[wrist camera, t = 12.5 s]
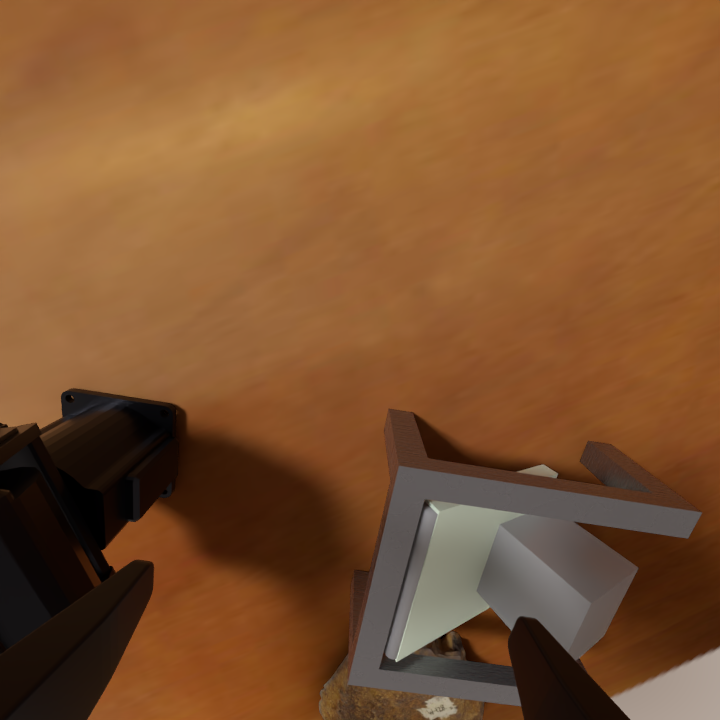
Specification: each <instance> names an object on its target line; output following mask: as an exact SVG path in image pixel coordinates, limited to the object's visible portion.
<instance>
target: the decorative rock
mask: <svg viewBox="0 0 720 720" xmlns="http://www.w3.org/2000/svg"><path fill="white" fill-rule="evenodd" d="M411 654H418V655H425V656H433V657H441V658H448V659H456V660H464V661H467V659H466V658H465V655H466V653H465V650H464V648H463V645H462V642H461V637H460V636H459V634H458V633H456V632H454V631H452V632H449V633H448V634H447V635H446V636H445V637H444V638H442V639H439V638H437V639H435V640H434V641H432V642H430V643H428V644H427V645H425V646H423V647H422V648H420V649H418V650H416V651H415V652H413V653H411ZM347 683H348V654H347V656H346V657H345V659H344V660H343V662H342V663H341V664H340V666H339V667H338V669H337V670H336V672H335V673H334V674H333V676H332V677H331V678H330V680H329V681H328V682H327V683H326V684H325V685H324V688H323V689H322V690H321V691H320V696H321V700H320V702H319V712H320V713H321V715H322V717H323V719H324V720H482V718H483V712H484V702H483V701H475V700H467V699H459V698H451V697H443V696H435V695H427V694H419V693H411V692H403V691H395V690H387V689H379V688H371V687H362V686H354V685H347Z"/></svg>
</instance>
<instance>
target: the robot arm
mask: <svg viewBox="0 0 720 720" xmlns="http://www.w3.org/2000/svg"><path fill="white" fill-rule="evenodd" d="M71 396H73V397H74V399H72V397H71ZM61 403H62V415H63V417H62V418H61V419H59V420H57V421H55V422H53V423H51V424H49V425H47V426H46V427H44V428H42V429H39V427H38V425H37V423H31V424H26V425H21V426H17V427H8V426H7V424H2V423H0V720H87V719H88V717H89V716H90V714H91V712H92V711H93V709H94V707H95V705H96V704H97V702H98V700H99V699H100V697H101V695H102V694H103V692H104V690H105V688H106V687H107V685H108V683H109V681H110V679H111V678H112V676H113V674H114V672H115V670H116V668H117V666H118V664H119V662H120V660H121V657H122V655H123V653H124V651H125V649H126V647H127V645H128V643H129V641H130V639H131V637H132V635H133V633H134V631H135V629H136V627H137V624H138V622H139V620H140V618H141V616H142V614H143V612H144V610H145V608H146V606H147V604H148V602H149V600H150V597H151V595H152V591H153V578H154V564H153V563H152V562H150V561H144V560H134V561H132V562H131V563H129V564H128V565H126V566H125V567H123V568H122V569H121V570H119V571H118V572H115V570H114V568H113V567H112V566H109V565H108V563H107V561H106V559H105V557H104V555H103V553H102V551H101V550H103V549H105V548H106V547H107V546H108V544H109V543H110V542H111V541H112V540H113V539H114V538H115V537H116V535H117V534H118V533H119V532H120V531H121V530H122V529H123V528H124V526H125V525H126V524H127V523H128V522H129V521H131V522H136V521H138V520H139V519H140V518H141V517H142V516H143V515H144V514H145V513H146V512H147V510H148V509H149V508H150V507H151V506H152V505H153V503H154V502H155V501H156V500H157V499H158V497H162V498H167V497H169V496H170V495H171V494H172V493H173V491H174V489H175V477H176V476H177V475H178V448H179V442H178V440H177V438H176V409H175V407H174V406H173V405H172V404H169V403H163V402H157V401H151V400H144V399H138V398H132V397H125V396H119V395H113V394H106V393H100V392H94V391H87V390H81V389H69V390H67V391H65V392H63V393H62V395H61ZM164 410H167V411H168V413H169V415H168V414H166V413H165V412H164ZM165 489H167V490H165ZM508 649H509V654H510V659H511V663H512V667H513V672H514V676H515V681H516V685H517V689H518V694H519V698H520V703H521V707H522V711H523V716H524V720H630V719H629V718H628V717H627V716H626V715H625V714H624V712H623V711H622V710H621V709H620V708H619V707H618V706H617V705H616V704H615V703H614V702H613V700H612V699H611V698H610V697H609V696H608V695H607V694H606V693H605V692H604V691H603V690H602V689H601V687H600V686H599V685H598V684H597V683H596V682H595V681H594V680H593V679H592V678H591V677H590V676H589V675H588V673H587V672H586V671H585V670H584V669H583V668H582V667H581V666H580V665H579V664H578V663H577V662H576V661H575V659H574V658H573V657H572V656H571V655H570V654H569V653H568V652H567V651H566V650H565V649H564V648H563V646H562V645H561V644H560V643H559V642H558V641H557V640H556V639H555V638H554V637H553V636H552V635H551V634H550V632H549V631H548V630H547V629H546V628H545V627H544V626H543V625H542V624H541V623H540V622H539V621H538V620H537V619H535V618H533V617H526V616H519V617H518V618H517V620H516V622H515V624H514V627H513V629H512V631H511V634H510V636H509V639H508Z"/></svg>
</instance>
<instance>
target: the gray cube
mask: <svg viewBox="0 0 720 720" xmlns="http://www.w3.org/2000/svg"><path fill="white" fill-rule="evenodd" d="M637 570H638V567H637V566H635V565H634V564H633V563H631V562H630V561H628V560H627V559H626V558H624V557H623V556H621V555H620V554H618V553H617V552H616V551H614V550H613V549H611V548H610V547H609V546H607V545H606V544H604V543H603V542H602V541H600V540H599V539H597V538H596V537H595V536H593V535H592V534H590V533H589V532H587V531H586V530H585V529H583V528H582V527H580V526H579V525H578V524H576V523H575V522H573V521H567V520H561V519H554V518H547V517H541V516H534V515H527V514H524V515H522V516H519V517H517V518H514V519H512V520H509V521H507V522H504V523H502V524H500V525H499V528H498V530H497V533H496V536H495V539H494V542H493V545H492V548H491V550H490V553H489V556H488V559H487V562H486V565H485V568H484V570H483V573H482V576H481V579H480V582H479V585H478V588H477V592H478V593H479V595H480V596H481V597H482V598H483V599H484V600H485V601H486V602H487V604H488V605H489V606H490V607H491V608H492V609H493V610H494V612H495V613H496V614H497V615H498V616H499V617H500V618H501V619H502V621H503V622H504V623H505V624H506V625H507V626H508V627H509V628H510V630H511V631H512V629H513V627H514V624H515V622H516V620H517V618H518V617H519V616H526V617H533V618H535V619H537V620H538V621H539V622H540V623H541V624H542V625H543V626H544V627H545V628H546V629H547V630H548V631H549V632H550V634H551V635H552V636H553V637H554V638H555V639H556V640H557V641H558V642H559V643H560V644H561V645H562V646H563V648H564V649H565V650H566V651H567V652H568V653H569V654H570V655H571V656H572V657H573V658H574V659H575V661H576V660H577V659H579V658H580V657H581V656H582V655H583V654H584V653H585V652H586V651H588V650H589V649H590V648H591V647H592V646H593V645H594V644H595V643H597V642H598V641H599V640H600V639H601V638H602V637H603V636H604V635H605V633H606V631H607V629H608V627H609V625H610V623H611V621H612V619H613V617H614V615H615V613H616V611H617V609H618V607H619V605H620V603H621V601H622V600H623V598H624V596H625V594H626V592H627V590H628V588H629V586H630V584H631V582H632V580H633V578H634V576H635V574H636V572H637Z"/></svg>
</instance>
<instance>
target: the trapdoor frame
mask: <svg viewBox="0 0 720 720" xmlns="http://www.w3.org/2000/svg"><path fill="white" fill-rule="evenodd" d="M384 434H385V442H386V449H387V457H388V465H389V473H390V480H391V481H390V485H389V489H388V494H387V498H386V502H385V507H384V511H383V515H382V520H381V524H380V528H379V533H378V537H377V541H376V546H375V550H374V554H373V559H372V563H371V567H370V572H365V571H358V570H354V573H353V578H352V582H351V593H350V623H349V653H348V683H347V685H354V686H362V687H371V688H379V689H387V690H395V691H403V692H411V693H419V694H427V695H435V696H443V697H451V698H459V699H467V700H475V701H483V702H491V703H499V704H507V705H515V706H521V703H520V698H519V694H518V689H517V685H516V681H515V676H514V672H513V667H510V666H502V665H495V664H487V663H479V662H472V661H464V660H456V659H448V658H441V657H433V656H425V655H418V654H410V655H408V656H406V657H404V658H403V659H401V660H399V661H398V662H396V661H395V659H394V660H393V659H390V658H388V657H387V656H386V655H385V652H384V649H385V645H386V641H387V637H388V634H389V630H390V626H391V623H392V619H393V615H394V611H395V608H396V604H397V600H398V596H399V593H400V589H401V585H402V582H403V578H404V574H405V570H406V567H407V563H408V559H409V556H410V552H411V548H412V544H413V541H414V537H415V533H416V529H417V526H418V522H419V518H420V515H421V511H422V507H423V503H424V500H425V499H428V500H434V501H441V502H448V503H454V504H461V505H468V506H474V507H481V508H488V509H494V510H501V511H508V512H514V513H521V514H527V515H534V516H541V517H547V518H554V519H561V520H567V521H574V522H581V523H587V524H594V525H601V526H607V527H614V528H621V529H627V530H634V531H641V532H647V533H654V534H661V535H667V536H674V537H681V538H687V539H688V538H689V536H690V534H691V532H692V530H693V528H694V527H695V525H696V523H697V521H698V519H699V518H700V516H701V514H702V512H701V511H700V510H698V509H697V508H696V507H694V506H693V505H692V504H690V503H689V502H688V501H686V500H685V499H683V498H682V497H681V496H679V495H678V494H677V493H675V492H674V491H673V490H671V489H670V488H669V487H667V486H666V485H665V484H663V483H662V482H661V481H659V480H658V479H657V478H655V477H654V476H653V475H651V474H650V473H649V472H647V471H646V470H645V469H643V468H642V467H641V466H639V465H638V464H637V463H635V462H634V461H633V460H631V459H630V458H629V457H627V456H626V455H625V454H623V453H622V452H620V451H619V450H618V449H616V448H615V447H614V446H612V445H611V444H605V443H598V442H592V441H588V443H587V445H586V448H585V450H584V453H583V455H582V458H581V460H580V462H581V463H582V464H583V465H584V466H585V467H586V468H587V469H588V470H590V471H591V472H592V473H593V474H594V475H595V476H596V477H597V478H598V479H599V480H600V481H601V482H602V483H603V484H605V485H606V486H603V485H596V484H590V483H584V482H577V481H571V480H564V479H558V478H551V477H545V476H539V475H532V474H526V473H519V472H513V471H506V470H500V469H494V468H487V467H481V466H474V465H468V464H462V463H455V462H449V461H442V460H436V459H429V458H428V457H427V454H426V451H425V448H424V445H423V442H422V439H421V436H420V433H419V430H418V427H417V424H416V421H415V418H414V415H413V412H406V411H400V410H394V409H389V410H388V414H387V419H386V424H385V428H384ZM576 662H577V663H578V664H579V665H580V666H581V667H582V668H583V669H584V670H585V668H584V666H583V664H582V662H581V660H580V659H577V660H576ZM585 671H586V670H585ZM586 672H587V671H586Z"/></svg>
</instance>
